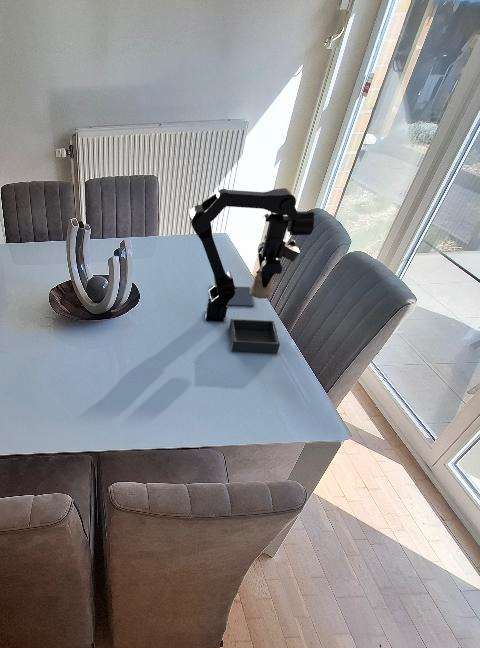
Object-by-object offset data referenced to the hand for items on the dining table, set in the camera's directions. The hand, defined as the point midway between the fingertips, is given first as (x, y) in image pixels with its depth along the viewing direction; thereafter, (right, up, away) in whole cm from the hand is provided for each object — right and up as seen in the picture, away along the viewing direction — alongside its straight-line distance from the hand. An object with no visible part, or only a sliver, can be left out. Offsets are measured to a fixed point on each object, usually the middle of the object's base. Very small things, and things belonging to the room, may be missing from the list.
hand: (263, 282), depth 157 cm
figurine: (0, -3, +4) cm, 5 cm away
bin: (-5, -21, -2) cm, 21 cm away
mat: (-5, +3, +21) cm, 22 cm away
